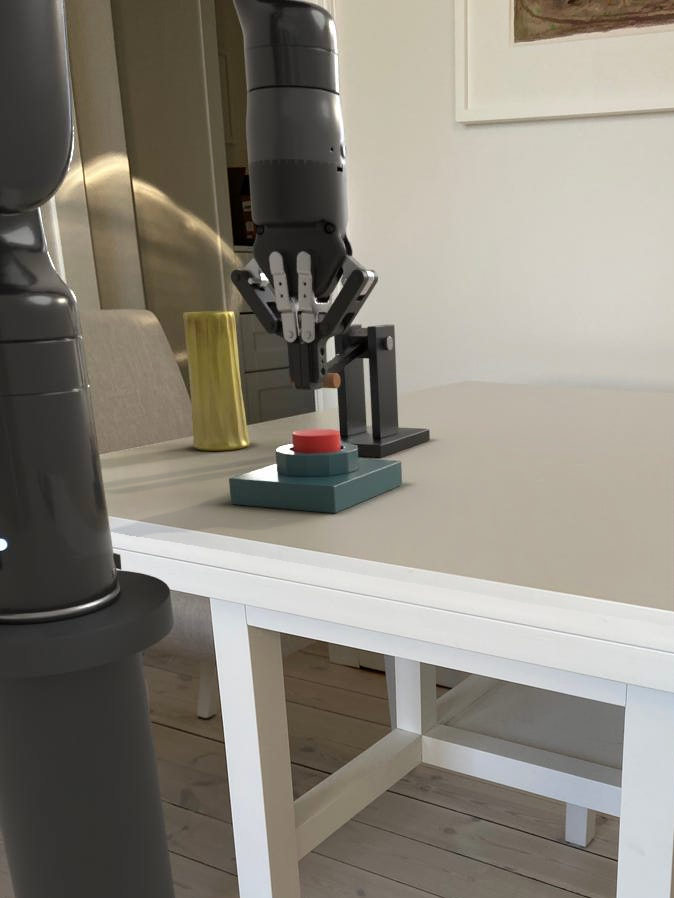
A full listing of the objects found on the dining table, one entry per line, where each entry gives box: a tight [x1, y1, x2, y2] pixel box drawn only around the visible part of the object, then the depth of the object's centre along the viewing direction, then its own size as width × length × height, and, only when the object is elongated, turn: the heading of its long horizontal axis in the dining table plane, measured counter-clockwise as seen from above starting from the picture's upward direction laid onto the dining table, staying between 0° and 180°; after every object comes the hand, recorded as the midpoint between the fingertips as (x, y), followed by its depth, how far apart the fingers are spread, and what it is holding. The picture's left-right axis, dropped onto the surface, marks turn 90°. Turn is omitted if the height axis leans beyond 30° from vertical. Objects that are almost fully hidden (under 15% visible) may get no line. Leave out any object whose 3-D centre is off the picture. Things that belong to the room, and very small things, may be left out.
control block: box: [228, 442, 403, 514], centre depth 86 cm, size 12×10×4 cm
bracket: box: [333, 323, 431, 459], centre depth 108 cm, size 12×9×13 cm
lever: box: [289, 327, 369, 389], centre depth 102 cm, size 13×5×2 cm, turn 158°
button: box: [291, 428, 341, 453], centre depth 85 cm, size 4×4×2 cm
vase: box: [182, 310, 251, 452], centre depth 108 cm, size 6×6×14 cm
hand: (309, 388), depth 83 cm, fingers closed
